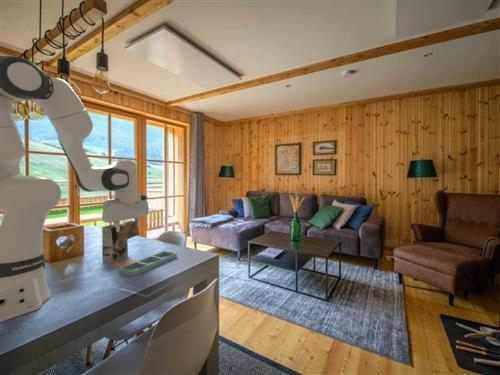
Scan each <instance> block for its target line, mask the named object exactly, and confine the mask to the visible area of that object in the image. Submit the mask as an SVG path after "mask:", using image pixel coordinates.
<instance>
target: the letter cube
mask: <svg viewBox="0 0 500 375" xmlns="http://www.w3.org/2000/svg"><path fill="white" fill-rule="evenodd" d="M119 225H120V227H122V231H120V232H117V238H122V239H128V240H130V239H132V238H134V237H136V236H139V235H140V231H139V230H140V229H139V222H137V221H135V220H132V219H127V220H123V221H120V223H119Z"/></svg>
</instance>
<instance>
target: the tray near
mask: <svg viewBox="0 0 500 375" xmlns="http://www.w3.org/2000/svg"><path fill="white" fill-rule="evenodd" d="M149 270H151V269H150V265H149V264H144V263H140V262H134V263H131V264H129V265H126V266H124V267H121V268H118V273H119V274H121V275H125V276H128V277H133V278H134V277H137V276H138V275H141V274H143V273H145V272H148V271H149Z"/></svg>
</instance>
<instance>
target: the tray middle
mask: <svg viewBox="0 0 500 375" xmlns="http://www.w3.org/2000/svg"><path fill="white" fill-rule="evenodd" d="M137 262H140V263H144V264H149V265H150V270H151V269H154V268H156V267H158V266H160V265H162V264H165V263H164V258H158V257H153V256H152V255H150V256H148V257H145V258H142V259H140V260H138V261H137Z"/></svg>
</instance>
